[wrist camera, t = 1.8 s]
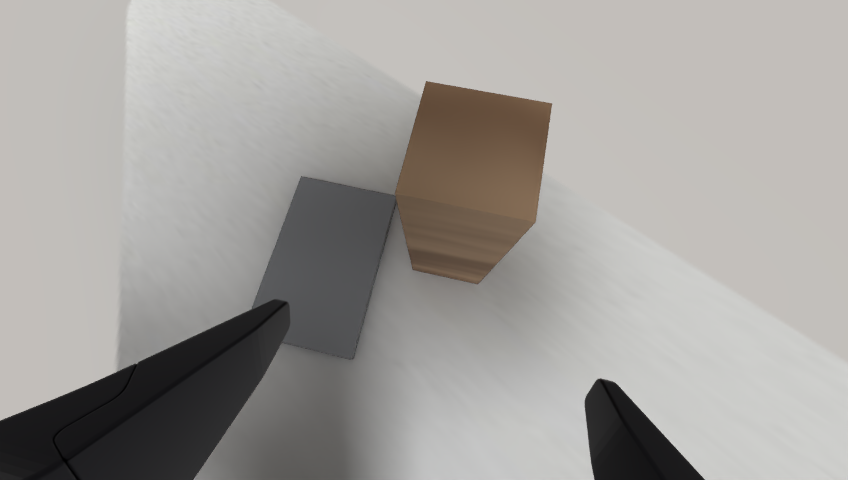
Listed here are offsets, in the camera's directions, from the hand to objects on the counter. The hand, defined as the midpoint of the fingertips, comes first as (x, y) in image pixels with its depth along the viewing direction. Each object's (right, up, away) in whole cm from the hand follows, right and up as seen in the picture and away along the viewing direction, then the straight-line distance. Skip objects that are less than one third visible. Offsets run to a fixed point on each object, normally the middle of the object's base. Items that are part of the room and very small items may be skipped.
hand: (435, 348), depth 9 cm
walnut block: (+2, +3, +13) cm, 13 cm away
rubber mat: (-7, +2, +13) cm, 14 cm away
